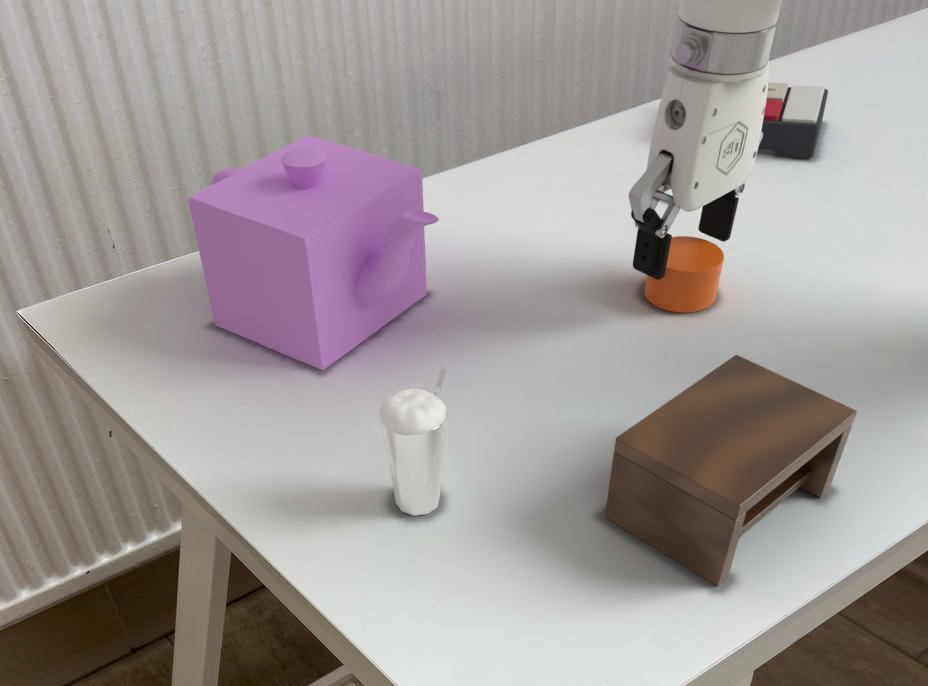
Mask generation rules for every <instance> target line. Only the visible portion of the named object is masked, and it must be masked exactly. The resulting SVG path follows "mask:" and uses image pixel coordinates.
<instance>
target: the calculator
mask: <svg viewBox="0 0 928 686" xmlns="http://www.w3.org/2000/svg"><path fill="white" fill-rule="evenodd" d="M828 94H829V90H828V89H827V88H825V87H824V86H815V85H813V86H812V85H791V86H789V84H788V83H787V82H769V81H768V90H767V99H766V106H765V112H764V118H763V124H762V130H761V132H763V138H762V140H761V142H760V145H759V147H758V150H765V151H767V150H768V151H773V152H774V153H775V154H776V155H777V156H779V157H788V158H805V159H812V158H814V157H815V152H816V149H817V144H818V140H819V135H820V131H821V128H822V123H823V119H824V114H825V110H826V105H827V101H828Z"/></svg>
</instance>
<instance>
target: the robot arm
mask: <svg viewBox="0 0 928 686" xmlns="http://www.w3.org/2000/svg"><path fill="white" fill-rule="evenodd" d="M782 3H783V0H679V2H678V8H677V14H676V20H675V25H674V31H673V39H672V44H671V52H670V58H669V64H670V66H671V67H670V68H668V69H669V70H668V72H667V76H666V80H665V82H664V86H663V90H662V93H661V94H662V95H661V96H660V97H661V98H660V101H659V105H658V109H657V113H656V118H655V121H654V126H653V129H652V130H653V131H652V135H651V141H650V146H649V150H648V156H647V157H648V158H647V162H646V171H644V172H643V174H642V175H641V176H640V177H639V179H638V180H637V181H636V182H635V183H634V185H633V186H632V187H631V188H630V190H629V192H628V200H629V204H630V209H631V212H630V217H631V218H632V220H633V221H634V227H635V228H637V231H636V232H637V233H636V239H635V246H634V254H633V259H632V268H633V269H634V270H635V271H636V272H637V271H638V272H640V273H642V274H644V275H645V276H647V275H648V276H650V277H653V278H655V279H657V280H660V279H661V278H663V277H664V276H665V272H666V266H667V261H668V255H669V250H670V244H671V239H672V237H673V235H672V234H671V233H668V232H669V231H670V229H671V227H672V225H673V223H674V222H675V220H676V218H677V216H678V214H679V213H680V211H681V210H682V211H684V212H686V213H691V212H694V211H696V210H698V209H700V208H701V214H700V219H699V223H698V227H697V229H698V231H699V232H700V233H701V234H704V235H706V236H709V237H711V238H713V239H716V240H718V241H720V242H723V243H725V242H726V241H728V240H730V239H731V235H732V231H733V226H734V222H735V218H736V215H737V209H738V204H739V200H740V198H739V196H741V195H742V194H743V192H744V191H745V188H746V182H748V180H749V179H751V176H752V175H753V172H754V168H755V165H756V160H757V155H758V151H759V149H758V147H759V145H760V142H761V140H762V138H763V132H761V130H762V124H763V118H764V112H765V106H766V99H767V90H768V82H769V78H770V55H771V51H772V48H773V42H774V38H775V33H776V28H777V24H778V20H779V15H780V12H781V7H782ZM670 190H671V193H672V195H671V194H669V193H666V192H668V191H670ZM660 203H661V204H663V205H665V206H667V207H666V209H665V211H664V212H663V214H662V216H660V215H659V214H658V213H657V211H656V209H657V208H656V207H658V204H660Z"/></svg>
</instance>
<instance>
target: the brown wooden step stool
mask: <svg viewBox="0 0 928 686" xmlns="http://www.w3.org/2000/svg"><path fill="white" fill-rule="evenodd" d="M857 413H858V411H857V410H856V409H854V408H852V407H850V406H848V405H846V404H843V403H841V402H839V401H837V400H835V399H833V398H831V397H829V396H826V395H825V394H822V393H820V392H818V391H816V390H813V389H812V388H810V387H807V386H805V385H803V384H800V383H799V382H796V381H794V380H792V379H790V378H788V377H785V376H783V375H781V374H779V373H777V372H775V371H773V370H771V369H769V368H766V367H764V366H762V365H760V364H757V362H754V361H752V360H750V359H747V358H745V357H743V356H741V355H738V354H735V355H734V356H732V357H731V358H729V359H728V360H726V361H724V362H723V363H722V364H721V365H719V366H718V367H716V368H715V369H713V370H712V371H709V373H707V374H706V375H705V376H703V377H702V378H700V379H698V380H697V381H696V382H694V383H693V384H691V385H690V386H688V387H687V388H685V390H683V391H682V392H679V394H678V395H675V396H674V397H672V398H671V399H670V400H669V401H666V403H664V404H663V405H661V406H660V407H658V408H657V409H656V410H654V411H652V412H651V413H650V414H648V415H647V416H645V417H644V418H643V419H641V420H640V421H638V422H637V423H635V424H634V425H631V427H630V428H628V429H627V430H625V431H623V432H621V434H619V435H618V436H616V437H615V441H614V449H613V455H612V460H611V469H610V477H609V484H608V491H607V496H606V497H607V498H606V505H605V513H604V518H605V519H606V520H608V521H610V522H612V523H613V524H614V525H616V526H618V527H620V528H621V529H623V530H625V531H626V532H628V533H629V534H631V535H632V536H634V537H636V538H637V539H639V540H640V541H642V542H644V543H646V544H648V545H649V546H651V547H652V548H654V549H656V550H657V551H659V552H660V553H662V554H664V555H666V556H667V557H669V558H671V559H672V560H674V561H675V562H676V563H678V564H680V565H682V566H683V567H685V568H687V569H689V570H691V571H692V572H693V573H695V574H696V575H698V576H699V577H702V578H703V579H705V580H707V581H708V582H710V583H712V584H713V585H715V586H716V587H718V586H720V585H721V584H722V583H723V582H725V581H726V580H727V579H728V578H729V575H730V571H731V567H732V564H733V561H734V557H735V553H736V550H737V546H738V544H739V539H740V538H741V537H742V536H743V535H744V534H745V533H747V532H748V531H749V530H750V529H751V528H753V527H754V526H755V525H756V524H758V523H759V522H760V521H761V520H762V519H763V518H764V517H766V516H767V515H768V514H769V513H771V512H772V511H773V510H774V509H775V508H777V507H778V505H780V504H781V503H782V502H784V501H785V500H786V499H787V498H789V496H791V495H792V494H793V493H795V491H797V490H798V489H799V488H800V489H802V490H803V491H806V492H808V493H809V494H811V495H813V496H815V497H817V498H819V499H820V498H822V497H823V496H825V495H826V494H827V493H828V492H829V491H830V488H831V486H832V483H833V480H834V477H835V475H836V473H837V469H838V466H839V463H840V460H841V459H842V455H843V453H844V450H845V447H846V444H847V442H848V438H849V436H850V433H851V430H852V429H853V428H852V427H853V424H854V422H855V419H856V416H857Z"/></svg>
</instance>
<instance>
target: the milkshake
mask: <svg viewBox="0 0 928 686" xmlns="http://www.w3.org/2000/svg"><path fill="white" fill-rule="evenodd" d="M446 373H447V369H445V368H444V367H440V370H439V373H438V378H437V381H436V385H435V388H434V392H430V391H427V390H424V389H421V388H407V389H403V390H398V391H397V392H395V393H393V394H392V395H390V396H388V397H387V398H386V399H384V400H383V402H381V404H380V407H379V418H380V425H381V428H382V433H383V438H384V442H385V443H384V444H385V448H386V454H387V459H388V465H389V472H390V477H391V482H392V483H391V484H392V490H393V494H394V500H395V504H396V505H397V508H399V509H400V511H401V512H402V513H405V514H409V515H411V516H413V517H415V516H423V515H428V514H430V513H432V512H433V511H434V510H436V509H437V508H438V506H439V502H440V498H441V483H442V463H443V448H444V438H445V429H446V419H447V407H446V404H445V402H444V401H443V400H442V399H441V398H440V394H441V390H442V386H443V384H444V380H445V376H446Z"/></svg>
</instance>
